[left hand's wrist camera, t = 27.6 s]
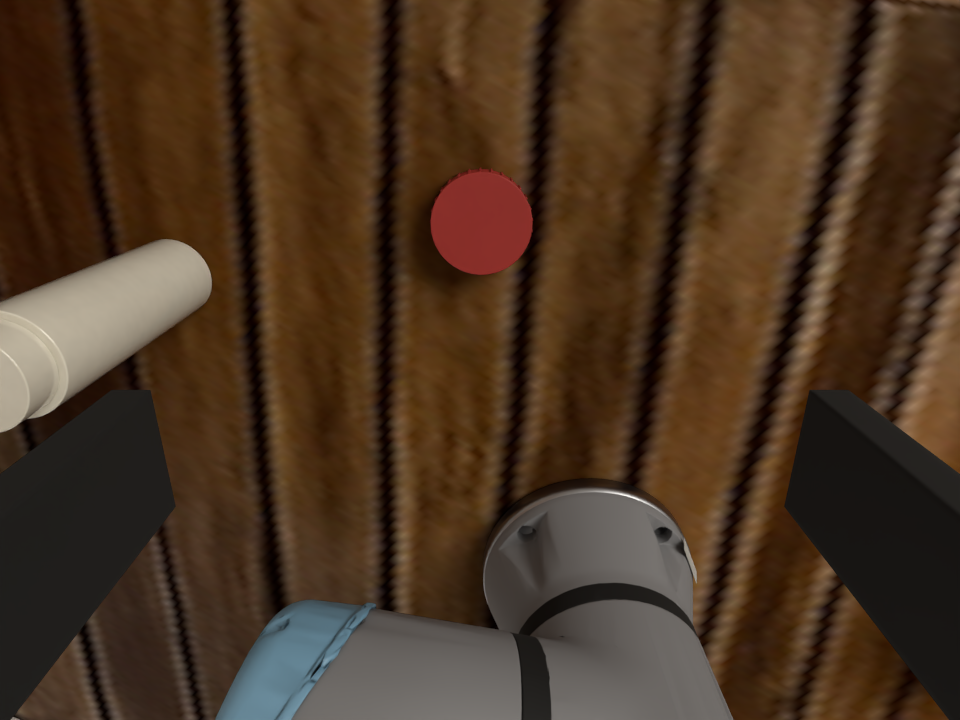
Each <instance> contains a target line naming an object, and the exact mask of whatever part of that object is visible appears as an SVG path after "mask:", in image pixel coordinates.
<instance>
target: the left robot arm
mask: <svg viewBox="0 0 960 720" xmlns="http://www.w3.org/2000/svg"><path fill="white" fill-rule="evenodd" d="M175 507H176V506H175V501H174V497H173V492H172V488H171V483H170V478H169V474H168V469H167V465H166V460H165V455H164V451H163V446H162V442H161V437H160V432H159V428H158V423H157V419H156V414H155V409H154V405H153V400H152V396H151V391H150V390H111V391H110V392H109V393H107V394H106V395H105V396H103V397H102V398H101V399H99V400H98V401H97V402H95V403H94V404H93V405H91V406H90V407H89V408H87V409H86V410H85V411H83V412H82V413H81V414H79V415H78V416H77V417H75V418H74V419H73V420H71V421H70V422H69V423H67V424H66V425H65V426H63V427H62V428H61V429H59V430H58V431H57V432H55V433H54V434H53V435H51V436H50V437H49V438H48V439H46V440H45V441H44V442H42V443H41V444H40V445H38V446H37V447H36V448H34V449H33V450H32V451H30V452H29V453H28V454H26V455H25V456H24V457H22V458H21V459H20V460H18V461H17V462H16V463H14V464H13V465H12V466H10V467H9V468H8V469H6V470H5V471H4V472H2V473H1V474H0V720H11V719H12V717H13V716H14V715H15V714H16V712H17V711H18V710H19V708H20V707H21V706H22V705H23V703H24V702H25V701H26V699H27V698H28V697H29V696H30V694H31V693H32V692H33V690H34V689H35V688H36V686H37V685H38V684H39V683H40V681H41V680H42V679H43V677H44V676H45V675H46V674H47V672H48V671H49V670H50V668H51V667H52V666H53V664H54V663H55V662H56V661H57V659H58V658H59V657H60V655H61V654H62V653H63V652H64V650H65V649H66V648H67V646H68V645H69V644H70V642H71V641H72V640H73V639H74V637H75V636H76V635H77V633H78V632H79V631H80V630H81V628H82V627H83V626H84V624H85V623H86V622H87V620H88V619H89V618H90V617H91V615H92V614H93V613H94V611H95V610H96V609H97V608H98V606H99V605H100V604H101V602H102V601H103V600H104V598H105V597H106V596H107V595H108V593H109V592H110V591H111V589H112V588H113V587H114V586H115V584H116V583H117V582H118V580H119V579H120V578H121V576H122V575H123V574H124V573H125V571H126V570H127V569H128V567H129V566H130V565H131V564H132V562H133V561H134V560H135V558H136V557H137V556H138V554H139V553H140V552H141V551H142V549H143V548H144V547H145V545H146V544H147V543H148V542H149V540H150V539H151V538H152V536H153V535H154V534H155V532H156V531H157V530H158V529H159V527H160V526H161V525H162V523H163V522H164V521H165V520H166V518H167V517H168V516H169V514H170V513H171V512H172V511H173V509H174V508H175ZM784 507H785V508H786V509H787V511H788V512H789V513H790V514H791V516H792V517H793V518H794V520H795V521H796V522H797V523H798V525H799V526H800V527H801V529H802V530H803V531H804V532H805V534H806V535H807V536H808V538H809V539H810V540H811V542H812V543H813V544H814V545H815V547H816V548H817V549H818V551H819V552H820V553H821V554H822V556H823V557H824V558H825V560H826V561H827V562H828V564H829V565H830V566H831V567H832V569H833V570H834V571H835V573H836V574H837V575H838V576H839V578H840V579H841V580H842V582H843V583H844V584H845V586H846V587H847V588H848V589H849V591H850V592H851V593H852V595H853V596H854V597H855V598H856V600H857V601H858V602H859V604H860V605H861V606H862V608H863V609H864V610H865V611H866V613H867V614H868V615H869V617H870V618H871V619H872V620H873V622H874V623H875V624H876V626H877V627H878V628H879V630H880V631H881V632H882V633H883V635H884V636H885V637H886V639H887V640H888V641H889V642H890V644H891V645H892V646H893V648H894V649H895V650H896V652H897V653H898V654H899V655H900V657H901V658H902V659H903V661H904V662H905V663H906V664H907V666H908V667H909V668H910V670H911V671H912V672H913V674H914V675H915V676H916V677H917V679H918V680H919V681H920V683H921V684H922V685H923V686H924V688H925V689H926V690H927V692H928V693H929V694H930V696H931V697H932V698H933V699H934V701H935V702H936V703H937V705H938V706H939V707H940V708H941V710H942V711H943V712H944V714H945V715H946V716H947V717H948V719H949V720H960V474H959V473H958V472H956V471H955V470H954V469H952V468H951V467H950V466H948V465H947V464H946V463H944V462H943V461H942V460H940V459H939V458H938V457H936V456H935V455H934V454H932V453H931V452H930V451H928V450H927V449H926V448H924V447H923V446H922V445H920V444H919V443H918V442H916V441H915V440H914V439H912V438H911V437H910V436H909V435H907V434H906V433H905V432H903V431H902V430H901V429H899V428H898V427H897V426H895V425H894V424H893V423H891V422H890V421H889V420H887V419H886V418H885V417H883V416H882V415H881V414H879V413H878V412H877V411H875V410H874V409H873V408H871V407H870V406H869V405H867V404H866V403H865V402H863V401H862V400H861V399H859V398H858V397H857V396H855V395H854V394H853V393H851V392H850V391H849V390H810V391H809V396H808V400H807V405H806V409H805V414H804V419H803V423H802V428H801V432H800V437H799V442H798V446H797V451H796V455H795V460H794V465H793V469H792V474H791V478H790V483H789V488H788V492H787V497H786V501H785V506H784ZM693 575H694V578H695V581H696V583H697V574H696V569H695V566H694V564H693V561H692V558H691V554H690V551H689V547H688V545H687V542H686V540H685V538H684V536H683V534H682V532H681V530H680V527H679V526H678V524H677V522H676V520H675V519H674V517H673V516H672V514H671V513H670V512H669V511H668V510H667V508H666V507H665V506H664V505H663V504H661V503H660V502H659V501H658V500H657V499H655V498H654V497H653V496H651V495H650V494H648V493H646V492H644V491H643V490H641V489H638V488H636V487H634V486H631V485H628V484H625V483H622V482H618V481H613V480H607V479H594V478H588V479H575V480H568V481H563V482H559V483H555V484H552V485H549V486H546V487H544V488H541V489H539V490H537V491H535V492H533V493H531V494H529V495H528V496H526V497H524V498H523V499H521V500H520V501H519V502H517V503H516V504H515V505H513V506H512V507H511V508H510V509H509V510H508V511H507V512H506V513H505V514H504V515H503V516H502V517H501V519H500V520H499V521H498V523H497V524H496V525H495V527H494V529H493V531H492V532H491V534H490V537H489V539H488V541H487V544H486V548H485V552H484V560H483V584H484V592H485V597H486V600H487V603H488V605H489V608H490V611H491V613H492V615H493V617H494V619H495V622H496V624H497V626H498V628H499V630H497V629H491V628H486V627H480V626H474V625H468V624H462V623H456V622H450V621H444V620H438V619H432V618H427V617H421V616H415V615H409V614H403V613H397V612H391V611H385V610H380V609H376V604H374V603H366V604H364V605H354V604H345V603H337V602H328V601H320V600H303V601H298V602H295V603H292V604H290V605H289V606H287V607H285V608H284V609H282V610H281V611H280V612H279V613H278V614H276V615H275V616H274V617H273V618H272V620H271V621H270V622H269V623H268V624H267V625H266V627H265V628H264V630H263V631H262V632H261V634H260V635H259V637H258V639H257V640H256V642H255V643H254V645H253V647H252V648H251V650H250V651H249V653H248V655H247V657H246V658H245V660H244V662H243V664H242V666H241V668H240V669H239V671H238V673H237V675H236V677H235V679H234V681H233V683H232V685H231V687H230V689H229V691H228V693H227V695H226V697H225V699H224V701H223V704H222V706H221V708H220V710H219V712H218V714H217V717H216V719H215V720H733V718H732V716H731V713H730V711H729V709H728V706H727V704H726V702H725V699H724V697H723V695H722V692H721V690H720V688H719V685H718V683H717V681H716V678H715V676H714V674H713V671H712V669H711V667H710V665H709V662H708V660H707V658H706V655H705V653H704V650H703V648H702V646H701V644H700V641H699V639H698V637H697V634H696V632H695V629H694V627H693Z"/></svg>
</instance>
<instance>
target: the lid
mask: <svg viewBox="0 0 960 720" xmlns="http://www.w3.org/2000/svg"><path fill="white" fill-rule="evenodd" d="M440 191H441V192H440V194H439V195H438V196H436V198H435V200H434V201H435V204H434V206H433V207H432V209H431V212H432V213H431V219H430V223H431V234H432V237H433V241H434V244H435V246H436V248H437V249H438V251H439V253H440V254H441V255H442V257H443V258H444V259H445V260H446V261H447V262H448V263H450V264H451V265H452V266H454V267H455V268H457V269H459V270H461V271H463V272H466V273H470V274H476V275H486V274H493V273H497V272H499V271H502V270H504V269H506V268H507V267H509V266H510V265H512V264H513V263H514V262H515V261H516V260H518V259H519V257H520V256H521V255H522V254H523V252H524V251H525V249H526V247H527V245H528V243H529V240H530V237H531V232H532V221H533V218H532V215H531V207H530V205H529V204H528V202H527V200H526V199H528V198H527V197H526V195H525V194H523V192H522V191H521V187H520V186H519V185H518V186H517V185H516V183H515V182H514V181H513V179H512V178H508V177H507V176H505V175H504V174H503V172H501V173H499V172H496V171H493V170H492V169H490V170H487V169H481V168H479V169H475V170H470V169H468V171H466V172H464V173H461V174H460V173H458V175H457V176H456V177H454V178H453V179H452V180H451V179H449V181H448V183H447V184H446V185H445V186H444V187H442V188H441V190H440Z"/></svg>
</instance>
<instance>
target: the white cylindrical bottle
mask: <svg viewBox="0 0 960 720" xmlns="http://www.w3.org/2000/svg"><path fill="white" fill-rule="evenodd" d="M211 287H212V279H211V274H210V271H209V268H208V266H207V264H206V262H205V261H204V259H203V258H202V257H201V256H200V255H199V254H198V253H197V252H196V251H195V250H194V249H193V248H191V247H190V246H188V245H186V244H184V243H182V242H179V241H175V240H169V239H162V240H156V241H153V242H151V243H148V244H145V245H143V246H140V247H138V248H135V249H133V250H130V251H128V252H125V253H123V254H120V255H118V256H115V257H112V258H110V259H107V260H105V261H102V262H100V263H97V264H95V265H92V266H90V267H87V268H85V269H82V270H79V271H77V272H74V273H72V274H69V275H67V276H64V277H62V278H59V279H57V280H54V281H52V282H49V283H46V284H44V285H41V286H39V287H36V288H34V289H31V290H29V291H26V292H24V293H21V294H19V295H16V296H13V297H11V298H8V299H6V300H3V301H1V302H0V433H1V432H4V431H7V430H10V429H12V428H14V427H15V426H17V425H18V424H20V423H21V422H23V421H24V420H26V419H29V418H36V417H40V416H43V415H46V414H48V413H50V412H51V411H53V410H54V409H56V408H57V407H59V406H60V405H62V404H63V403H64V402H66V401H67V400H69V399H70V398H72V397H73V396H74V395H76V394H77V393H79V392H80V391H82V390H83V389H84V388H86V387H87V386H89V385H90V384H92V383H93V382H95V381H96V380H97V379H99V378H100V377H102V376H103V375H105V374H106V373H107V372H109V371H110V370H112V369H113V368H115V367H116V366H117V365H119V364H120V363H122V362H123V361H125V360H126V359H127V358H129V357H130V356H132V355H133V354H135V353H136V352H138V351H139V350H140V349H142V348H143V347H145V346H146V345H148V344H149V343H150V342H152V341H153V340H155V339H156V338H158V337H159V336H160V335H162V334H163V333H165V332H166V331H168V330H169V329H171V328H172V327H173V326H175V325H176V324H178V323H179V322H181V321H182V320H183V319H185V318H186V317H188V316H189V315H191V314H192V313H193V312H195V311H196V310H198V309H199V308H201V307H202V306H203V305H204V304H205V302H206V301H207V299H208V298H209V295H210V293H211Z"/></svg>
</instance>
